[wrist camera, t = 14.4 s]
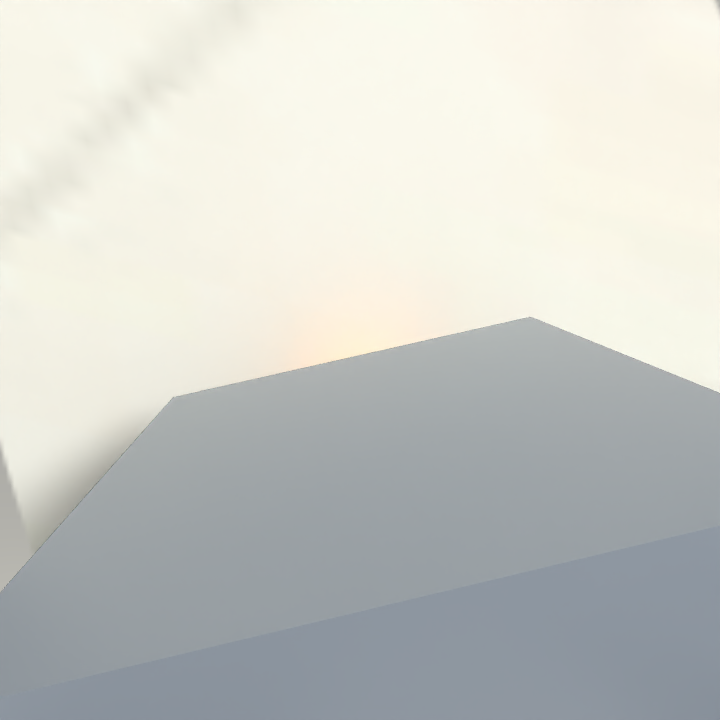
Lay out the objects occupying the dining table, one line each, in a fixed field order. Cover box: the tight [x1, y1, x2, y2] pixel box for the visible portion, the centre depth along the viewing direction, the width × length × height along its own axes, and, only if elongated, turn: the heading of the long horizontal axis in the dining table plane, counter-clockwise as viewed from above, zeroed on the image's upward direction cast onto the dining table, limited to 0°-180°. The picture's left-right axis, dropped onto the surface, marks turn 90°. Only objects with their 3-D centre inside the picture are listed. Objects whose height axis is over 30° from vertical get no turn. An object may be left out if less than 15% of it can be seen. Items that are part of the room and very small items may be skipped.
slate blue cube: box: [0, 317, 720, 720], centre depth 10 cm, size 10×10×9 cm
